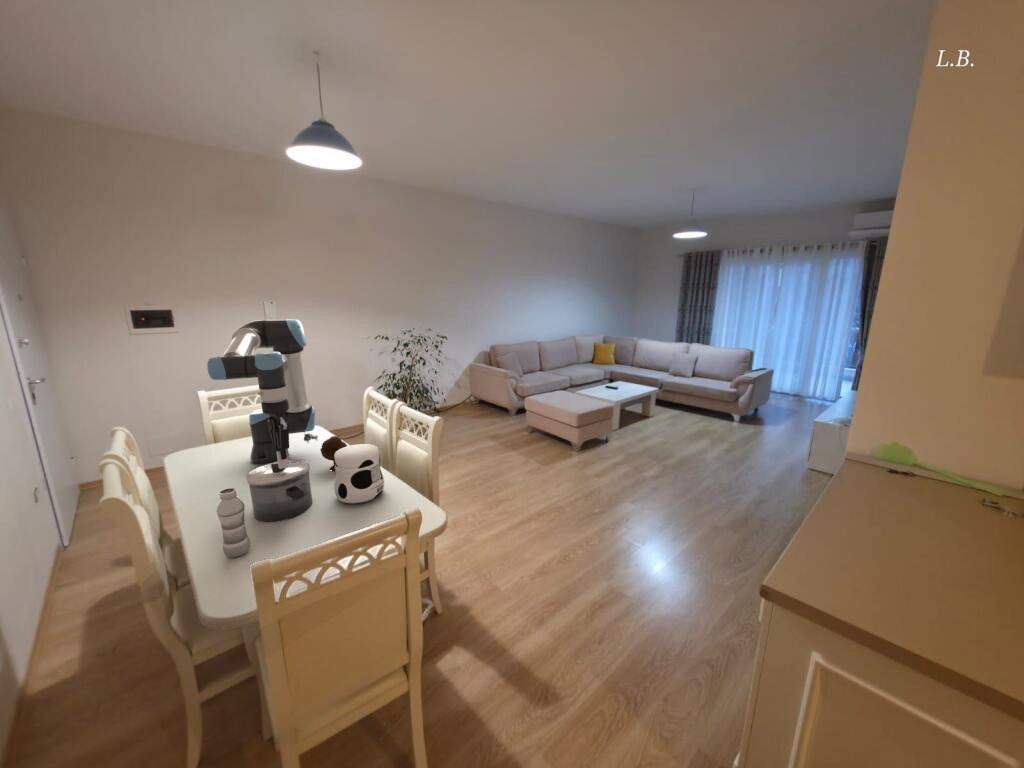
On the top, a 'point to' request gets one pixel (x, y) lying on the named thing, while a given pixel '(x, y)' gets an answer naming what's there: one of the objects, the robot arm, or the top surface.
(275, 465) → the lid
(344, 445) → the brown miniature tree
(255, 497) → the pot
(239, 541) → the plastic bottle
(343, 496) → the milk container
